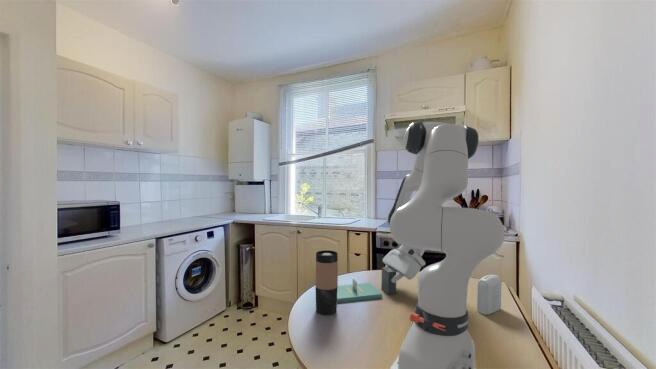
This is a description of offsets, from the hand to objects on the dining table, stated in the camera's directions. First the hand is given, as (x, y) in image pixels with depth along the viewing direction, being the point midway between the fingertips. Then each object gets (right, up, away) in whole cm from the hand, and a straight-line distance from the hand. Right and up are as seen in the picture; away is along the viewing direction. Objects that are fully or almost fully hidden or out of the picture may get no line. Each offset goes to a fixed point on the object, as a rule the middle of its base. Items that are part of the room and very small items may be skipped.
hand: (387, 278), depth 115 cm
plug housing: (+1, -5, 0) cm, 5 cm away
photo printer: (+33, -6, -16) cm, 37 cm away
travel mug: (-25, -6, -17) cm, 31 cm away
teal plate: (-14, -5, -3) cm, 15 cm away
